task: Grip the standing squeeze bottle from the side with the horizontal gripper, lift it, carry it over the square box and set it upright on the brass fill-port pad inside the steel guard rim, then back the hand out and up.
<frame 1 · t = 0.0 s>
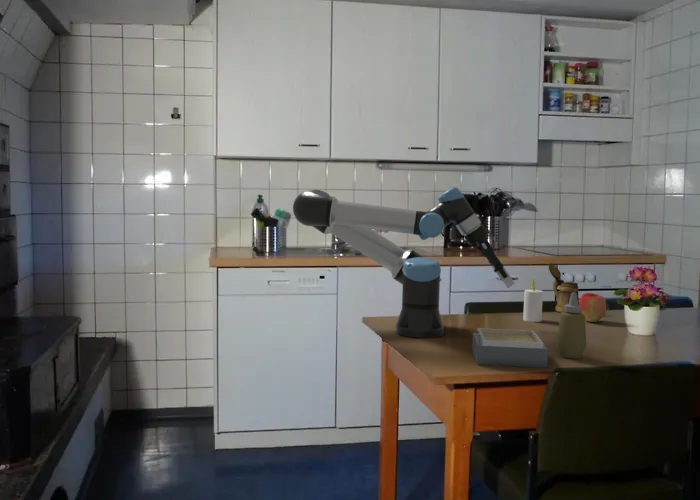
hand: (508, 282, 225), 15 cm above the table, tool tilted 35°, fingers open, 13 cm apart
apple: (591, 322, 242), on the table
candle: (532, 320, 242), on the table
square box: (507, 358, 186), on the table
squeeze bottle: (570, 357, 190), on the table
wooden mug: (562, 311, 262), on the table
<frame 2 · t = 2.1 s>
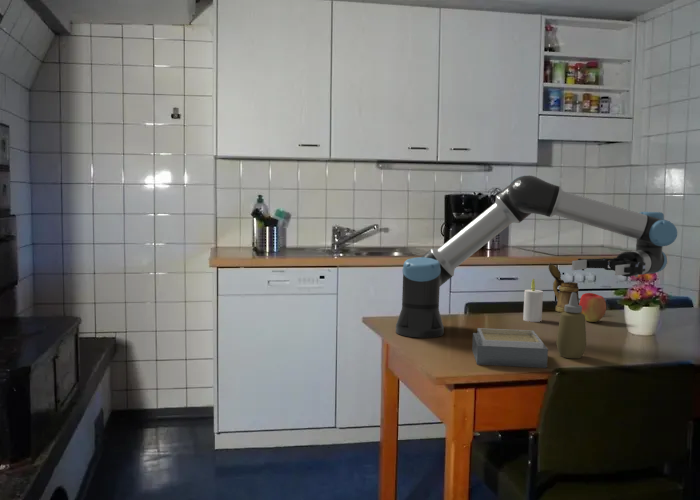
hand: (594, 267, 194), 24 cm above the table, tool horizontal, fingers open, 13 cm apart
nothing on the table moved.
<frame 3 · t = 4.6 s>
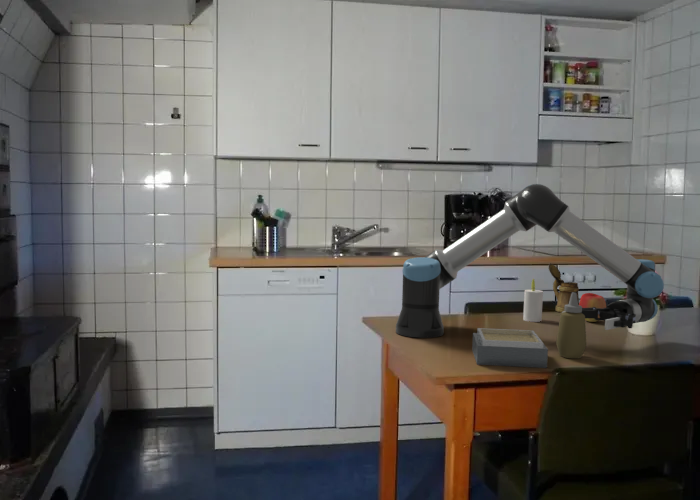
hand: (583, 320, 192), 10 cm above the table, tool horizontal, fingers open, 13 cm apart
nothing on the table moved.
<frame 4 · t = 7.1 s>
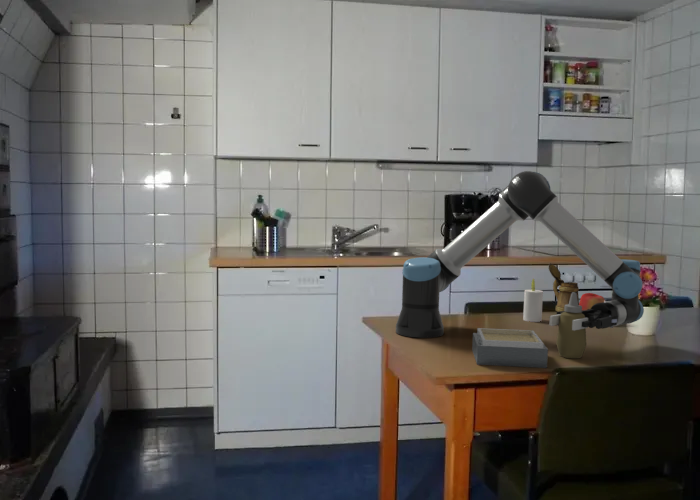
hand: (562, 323, 186), 10 cm above the table, tool horizontal, fingers closed on squeeze bottle, 6 cm apart
squeeze bottle: (570, 357, 190), on the table, touching gripper
everything else where it was.
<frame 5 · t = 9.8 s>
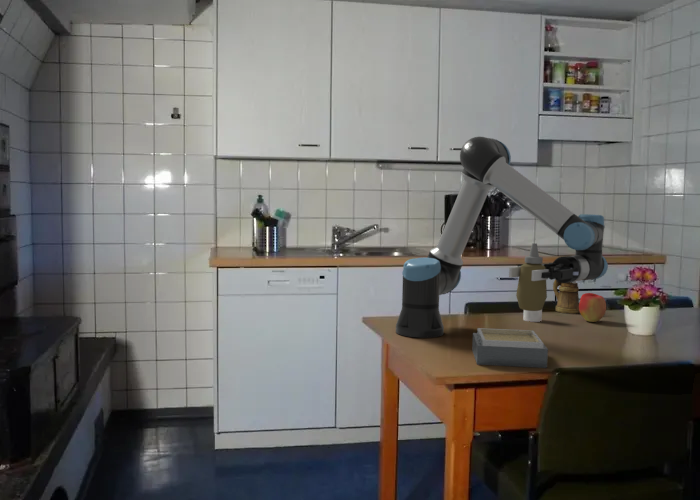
hand: (521, 274, 181), 24 cm above the table, tool horizontal, fingers closed on squeeze bottle, 6 cm apart
squeeze bottle: (530, 310, 185), point 14 cm above the table, touching gripper
everything else where it was.
when the fingers open (17 cm above the table, at t = 12.6 s): squeeze bottle drops 1 cm, resting on square box.
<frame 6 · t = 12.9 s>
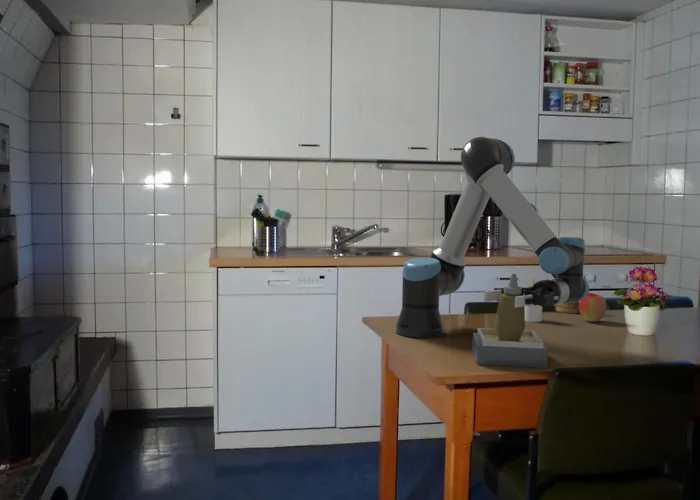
hand: (500, 299, 182), 17 cm above the table, tool horizontal, fingers open, 9 cm apart
squeeze bottle: (508, 339, 186), point 5 cm above the table, touching square box
everything else where it was.
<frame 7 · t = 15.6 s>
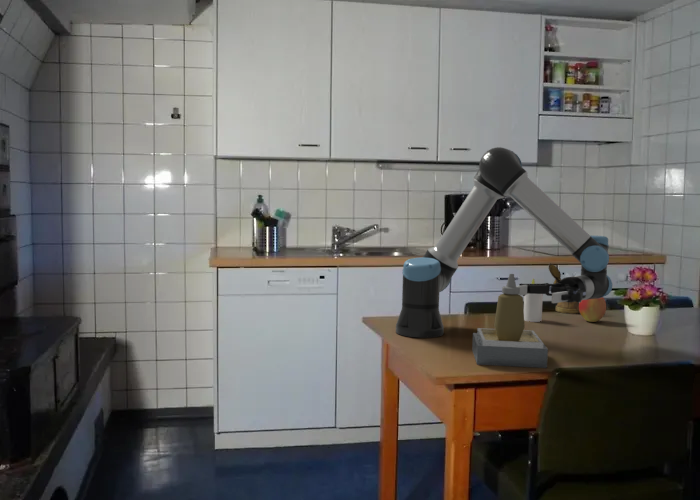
hand: (531, 294, 191), 17 cm above the table, tool horizontal, fingers open, 13 cm apart
nothing on the table moved.
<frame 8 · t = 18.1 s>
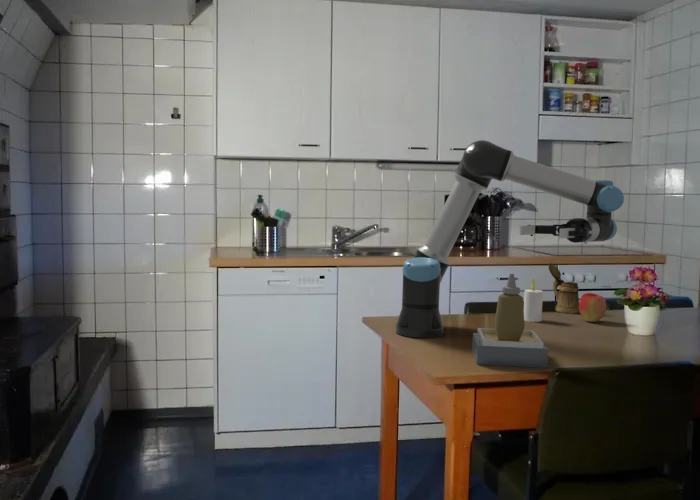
hand: (540, 231, 197), 34 cm above the table, tool horizontal, fingers open, 13 cm apart
nothing on the table moved.
at the end: squeeze bottle inside the target area on the square box (0.0 cm from its centre), point 5.1 cm above the square box's base; squeeze bottle tilted 0°; the gripper is holding nothing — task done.
